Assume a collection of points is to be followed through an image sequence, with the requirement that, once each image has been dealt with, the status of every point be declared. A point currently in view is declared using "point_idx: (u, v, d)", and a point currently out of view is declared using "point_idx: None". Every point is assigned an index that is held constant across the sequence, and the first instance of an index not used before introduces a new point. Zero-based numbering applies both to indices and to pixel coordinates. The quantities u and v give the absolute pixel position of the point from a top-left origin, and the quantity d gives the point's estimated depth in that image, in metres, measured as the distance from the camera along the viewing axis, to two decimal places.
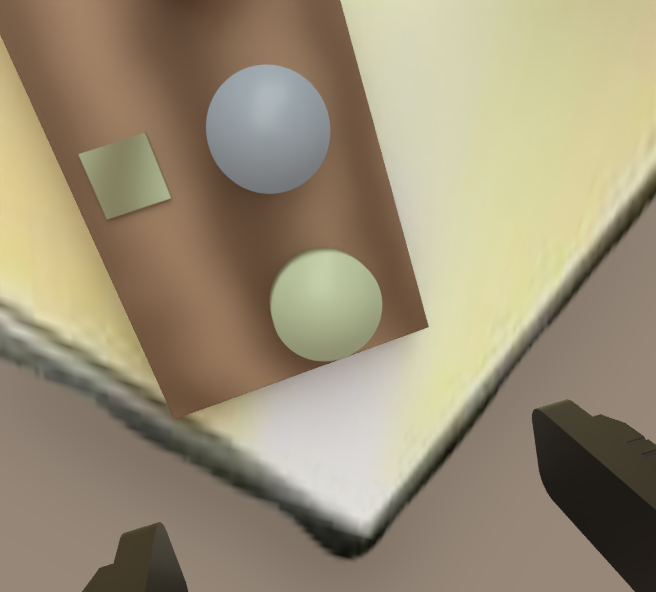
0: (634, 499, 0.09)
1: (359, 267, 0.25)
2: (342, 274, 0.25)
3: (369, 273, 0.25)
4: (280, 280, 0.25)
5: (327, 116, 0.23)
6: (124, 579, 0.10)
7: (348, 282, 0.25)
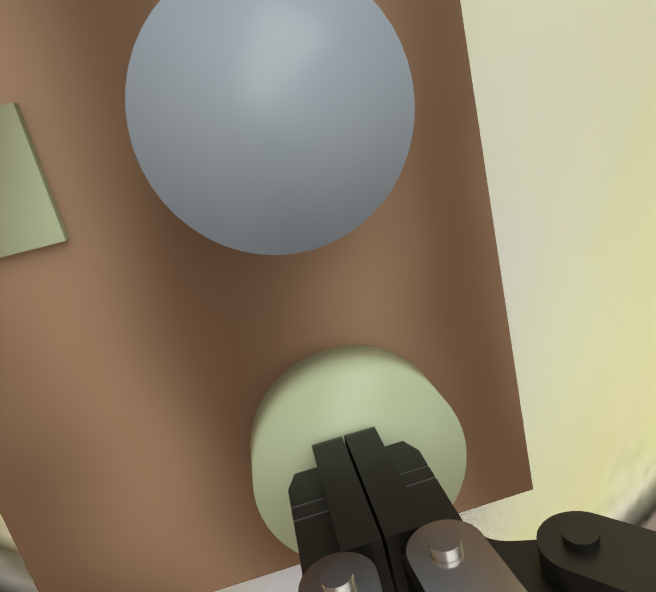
0: (380, 527, 0.10)
1: (431, 397, 0.13)
2: (396, 409, 0.13)
3: (448, 409, 0.13)
4: (274, 416, 0.12)
5: (410, 90, 0.10)
6: (334, 474, 0.11)
7: (407, 425, 0.13)
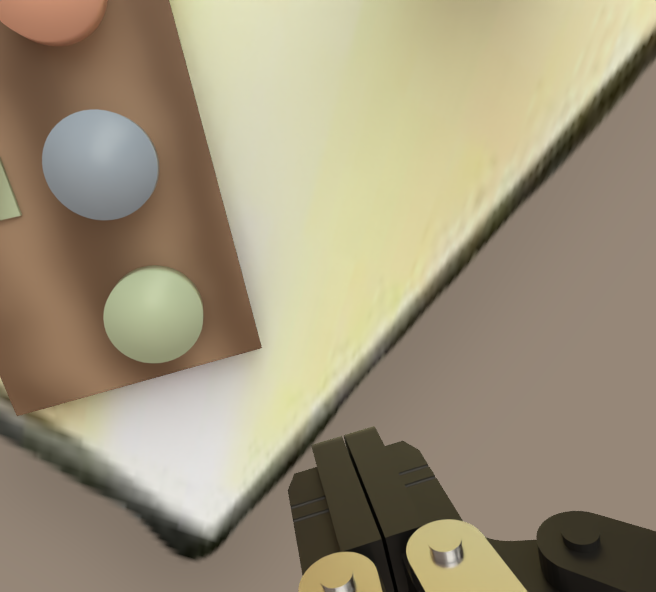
0: (380, 527, 0.10)
1: (183, 285, 0.30)
2: (167, 289, 0.30)
3: (191, 290, 0.30)
4: (112, 290, 0.29)
5: (154, 158, 0.27)
6: (334, 474, 0.11)
7: (173, 297, 0.30)
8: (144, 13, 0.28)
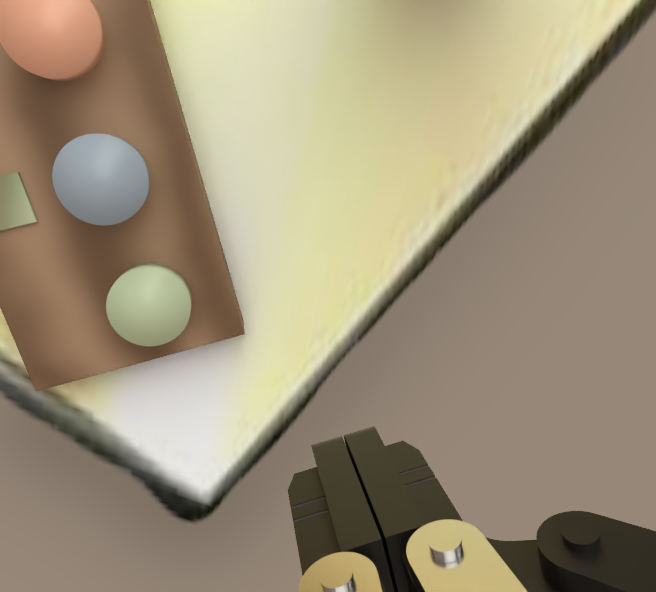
0: (380, 527, 0.10)
1: (173, 279, 0.35)
2: (159, 283, 0.35)
3: (180, 284, 0.35)
4: (113, 284, 0.35)
5: (145, 172, 0.32)
6: (334, 474, 0.11)
7: (164, 290, 0.35)
8: (137, 50, 0.33)
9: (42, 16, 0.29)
